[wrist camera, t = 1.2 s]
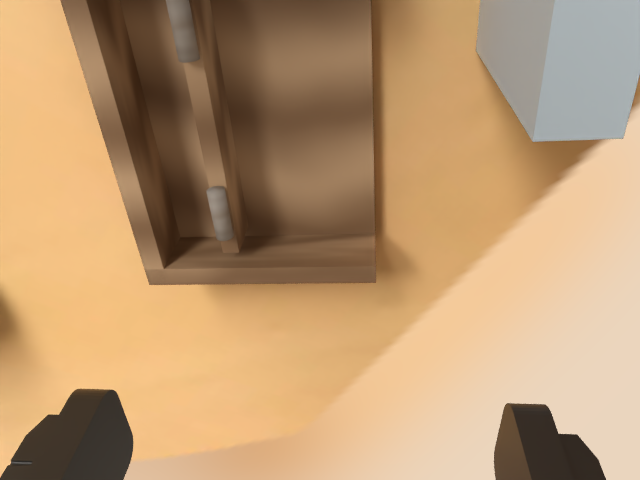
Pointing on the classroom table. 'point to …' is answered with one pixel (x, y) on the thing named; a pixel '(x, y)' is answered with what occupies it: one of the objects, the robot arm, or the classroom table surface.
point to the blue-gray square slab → (564, 63)
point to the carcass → (237, 134)
